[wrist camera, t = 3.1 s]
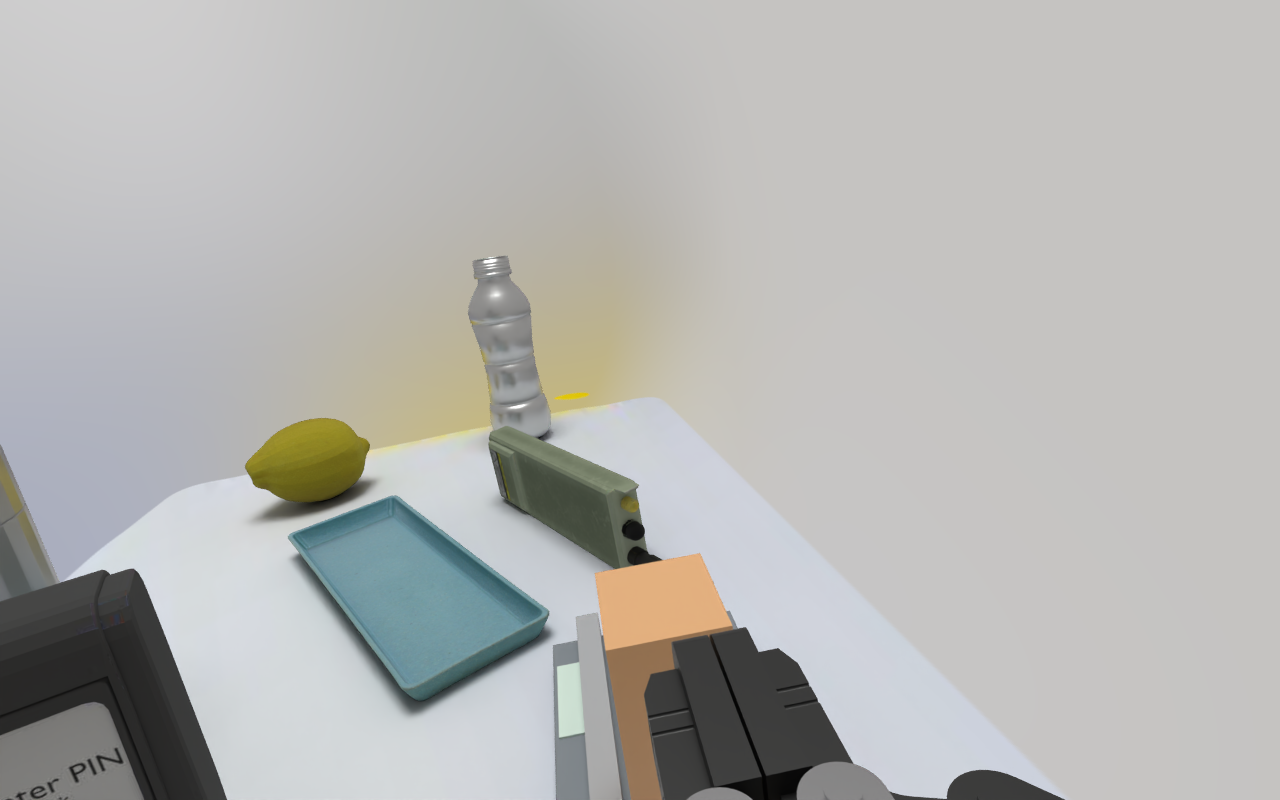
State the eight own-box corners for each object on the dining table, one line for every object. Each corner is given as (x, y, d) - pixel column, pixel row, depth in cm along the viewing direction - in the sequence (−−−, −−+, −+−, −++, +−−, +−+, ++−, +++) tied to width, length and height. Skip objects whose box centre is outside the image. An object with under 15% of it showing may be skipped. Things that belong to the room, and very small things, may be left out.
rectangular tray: (559, 640, 41) (552, 604, 41) (413, 724, 36) (402, 685, 35) (402, 518, 61) (395, 493, 61) (294, 561, 56) (285, 534, 55)
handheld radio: (530, 488, 64) (711, 591, 44) (499, 502, 62) (671, 616, 42) (515, 421, 61) (697, 497, 42) (481, 434, 60) (654, 519, 40)
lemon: (375, 471, 73) (357, 400, 70) (384, 495, 66) (364, 417, 64) (263, 502, 69) (239, 427, 66) (260, 531, 62) (233, 448, 59)
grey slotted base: (879, 970, 22) (877, 900, 21) (568, 1048, 21) (552, 979, 20) (732, 633, 39) (727, 587, 38) (557, 668, 38) (548, 621, 37)
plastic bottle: (566, 432, 77) (535, 252, 71) (517, 454, 72) (479, 263, 66) (531, 425, 81) (499, 254, 75) (483, 444, 77) (445, 264, 71)
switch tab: (762, 893, 23) (734, 631, 20) (651, 919, 23) (606, 657, 20) (725, 774, 28) (698, 549, 25) (632, 794, 27) (594, 568, 24)
